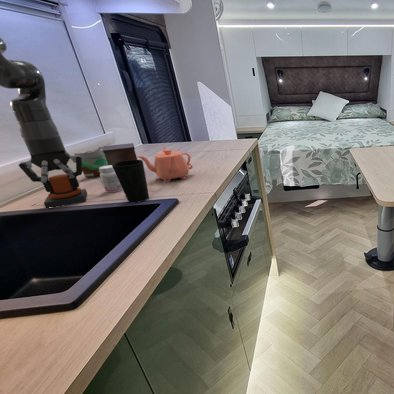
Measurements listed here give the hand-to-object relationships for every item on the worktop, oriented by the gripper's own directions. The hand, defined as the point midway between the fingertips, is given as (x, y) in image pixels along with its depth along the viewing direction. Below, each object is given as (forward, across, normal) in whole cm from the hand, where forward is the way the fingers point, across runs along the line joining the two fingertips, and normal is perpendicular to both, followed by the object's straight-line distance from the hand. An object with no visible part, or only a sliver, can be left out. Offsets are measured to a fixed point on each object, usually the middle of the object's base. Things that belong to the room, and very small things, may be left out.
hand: (64, 190), depth 90 cm
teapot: (+4, -29, -6) cm, 30 cm away
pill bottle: (+4, -12, -3) cm, 13 cm away
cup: (+4, -18, +12) cm, 22 cm away
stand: (+4, 0, 0) cm, 4 cm away
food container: (+4, -8, -29) cm, 30 cm away
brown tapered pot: (+4, -16, -19) cm, 25 cm away
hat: (+1, 0, 0) cm, 1 cm away
